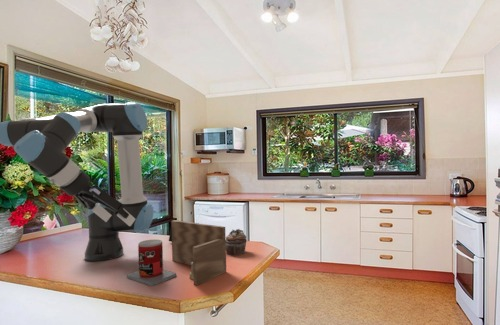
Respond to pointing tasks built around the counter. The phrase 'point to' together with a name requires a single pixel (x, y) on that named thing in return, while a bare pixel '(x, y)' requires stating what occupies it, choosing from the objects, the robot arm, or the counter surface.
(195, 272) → the walnut rack
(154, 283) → the slate tile
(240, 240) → the cupcake
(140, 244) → the canned food
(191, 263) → the offcut stack
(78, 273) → the counter surface
